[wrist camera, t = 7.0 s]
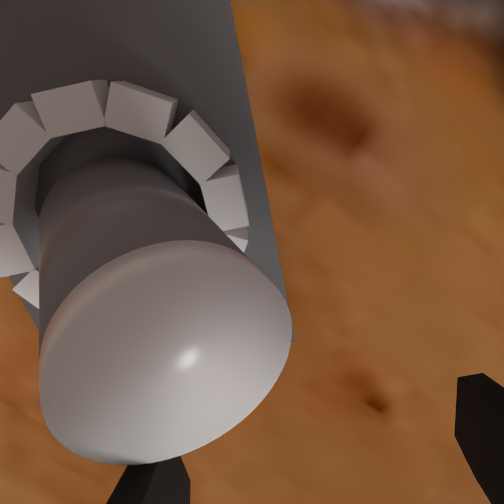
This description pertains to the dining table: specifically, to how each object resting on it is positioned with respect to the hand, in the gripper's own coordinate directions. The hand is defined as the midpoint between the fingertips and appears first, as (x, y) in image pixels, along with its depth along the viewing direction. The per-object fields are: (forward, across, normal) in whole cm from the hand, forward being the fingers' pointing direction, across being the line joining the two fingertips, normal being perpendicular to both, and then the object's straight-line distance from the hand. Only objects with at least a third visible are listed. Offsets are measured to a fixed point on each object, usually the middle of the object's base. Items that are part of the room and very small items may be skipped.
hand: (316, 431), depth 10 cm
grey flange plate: (+9, +5, -5) cm, 12 cm away
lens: (+5, +5, -4) cm, 9 cm away
